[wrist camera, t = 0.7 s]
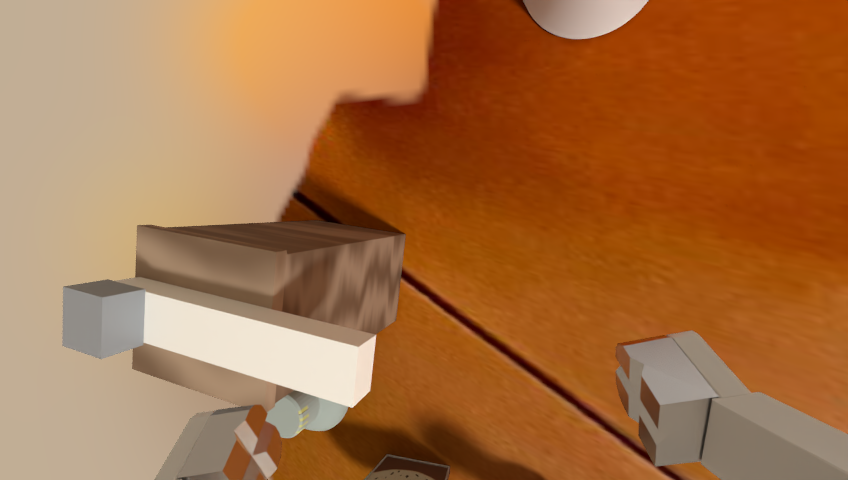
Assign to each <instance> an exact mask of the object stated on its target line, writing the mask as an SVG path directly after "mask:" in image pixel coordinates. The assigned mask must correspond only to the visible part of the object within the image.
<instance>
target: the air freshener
mask: <svg viewBox="0 0 848 480" xmlns="http://www.w3.org/2000/svg"><path fill="white" fill-rule="evenodd" d="M347 409H348V406H345V405H341V404H338V403H335V402H332V401H329V400H325V399H322V398H319V397H316V396H313V395H309V394H306V393H303V392H300V391H297V390H294V391H292V392H291V393H289V394H288V395H286V396H285V397H284V398H282V399H281V400H279V401H278V402H276V403H275V407H274V408H273V409H271V410H270V411H268V412H267V417H266V421H267V422H269V423H271V424H272V425H274V426H276V428H277V430H278V431H279V433H280V437H283V438H291V437H294V436H296V435H297V434H298V433H299V432H300V431H302V430H303V429H304V428H305V429H308V430H314V431H325V430H329V429H331V428H333V427H334V426H336V425H337V424H338V423H339V422H340V421H341V420H342V418H343V417H344V415H345V414H346V412H347Z"/></svg>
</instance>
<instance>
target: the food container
mask: <svg viewBox="0 0 848 480" xmlns="http://www.w3.org/2000/svg"><path fill="white" fill-rule="evenodd" d="M449 474H450V466H446V465H441V464H436V463H431V462H426V461H420V460H415V459H410V458H405V457H399V456H394V455H389V454H386V456H385V457H384V458H383V459H382V460H381V461H380V462H379V463H378V465H377V466H376V467H375V468H374V469H373V470H372V471H371V472H370V473H369V475H368V476H367V477H366V478H365V479H364V480H448V478H449Z"/></svg>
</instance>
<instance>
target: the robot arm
mask: <svg viewBox="0 0 848 480" xmlns="http://www.w3.org/2000/svg"><path fill="white" fill-rule="evenodd" d="M648 1H649V0H523V2H524V4H525V6H526V8H527V10H528V12H529V13H530V15H531V16H532V18H533V19H534V20H535V21H536V22H537V23H538V24H539V25H540V26H541V27H542V28H543V29H545V30H547V31H548V32H550V33H552V34H554V35H557V36H560V37H564V38H570V39H586V38H593V37H597V36H600V35H603V34H606V33H609V32H611V31H613V30H615V29H617V28H619V27H620V26H622V25H623V24H625V23H626V22H628V21H629V20H630V19H631V18H633V17H634V16H635V15H636V14H637V13H638V12H639V11H640V10H641V9H642V8H643V6H644V5H645V4H646V3H647V2H648ZM616 358H617V360H618V362H619V363H620V365H621V366H620V367H619V368H618V369H617V370H616V385H617V389H618V393H619V397H620V399H621V402H622V404H623V406H624V408H625V410H626V412H627V414H628V416H629V417H631V418H632V419H634V420H635V421H637V422H638V423H639V437H640V439H641V441H642V443H643V445H644V446H645V448H646V450H647V452H648V454H649V456H650V458H651V460H652V461H653V463H654V465H655V466H662V465H672V464H681V463H690V462H699V461H701V464H702V465H703V466H704V467H706V468H707V469H708V470H710V471H711V472H712V473H713V474H715V475H716V476H717V477H719V478H720V479H721V480H848V434H846V433H844V432H842V431H840V430H838V429H835V428H833V427H831V426H829V425H827V424H825V423H823V422H821V421H819V420H817V419H815V418H813V417H811V416H809V415H807V414H804V413H802V412H800V411H798V410H796V409H794V408H792V407H790V406H788V405H786V404H784V403H782V402H780V401H778V400H776V399H773V398H771V397H769V396H767V395H765V394H763V393H761V392H755V393H751V392H750V391H749V390H748V389H747V388H746V386H745V385H744V384H743V383H742V382H741V381H740V380H739V379H738V378H737V376H736V375H735V374H734V373H733V372H732V371H731V370H730V369H729V368H728V366H727V365H726V364H725V363H724V362H723V361H722V360H721V359H720V358H719V356H718V355H717V354H716V353H715V352H714V351H713V350H712V349H711V348H710V346H709V345H708V344H707V343H706V342H705V341H704V340H703V339H702V338H701V337H700V335H699V334H698V333H696V332H694V331H686V332H681V333H675V334H669V335H666V336H665V335H662V336H657V337H651V338H646V339H640V340H634V341H629V342H623V343H618V344H617V346H616ZM266 417H267V412H266V411H265V409H264V408H263V406H262V405H249V406H242V407H235V408H228V409H221V410H216V411H209V412H202V413H197V414H196V415H194V416H193V417H192V418H190V420H189V422H188V424H187V425H186V427H185V429H184V430H183V432H182V434H181V435H180V437H179V439H178V440H177V442H176V444H175V446H174V447H173V449H172V451H171V452H170V454H169V456H168V457H167V459H166V461H165V463H164V464H163V466H162V468H161V469H160V471H159V473H158V475H157V476H156V478H155V480H268V478H269V477H270V476H271V475H272V474H273V473H274V472H275V470H276V469H277V468H278V465H279V461H280V458H281V448H282V441H281V437H280V433H279V431H278V430H277V428H276V426H274V425H272V424H271V423H269V422H267V421H265V420H266Z"/></svg>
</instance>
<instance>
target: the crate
mask: <svg viewBox="0 0 848 480" xmlns="http://www.w3.org/2000/svg"><path fill="white" fill-rule="evenodd" d="M405 236H406V234H401V233H395V232H388V231H382V230H375V229H369V228H363V227H356V226H350V225H343V224H337V223H331V222H324V221H318V220H310V221H290V222H270V223H249V224H230V225H208V226H188V227H168V228H165V227H159V226H154V225H138V226H137V246H136V249H137V250H136V276H135V278H136V277H142V278H146V279H150V280H155V281H159V282H163V283H167V284H171V285H175V286H179V287H183V288H187V289H191V290H195V291H199V292H204V293H208V294H212V295H216V296H220V297H224V298H228V299H232V300H236V301H240V302H244V303H248V304H252V305H257V306H261V307H265V308H269V309H273V310H277V311H281V312H285V313H289V314H293V315H297V316H301V317H306V318H310V319H314V320H318V321H322V322H326V323H330V324H334V325H338V326H342V327H346V328H350V329H354V330H359V331H363V332H367V333H371V334H377V333H378V332H380V331H381V330H383V329H384V328H385V327H387V326H388V325H390V324H391V323H393V322H394V321H396V314H397V306H398V297H399V288H400V279H401V271H402V262H403V253H404V244H405ZM132 364H133V365H132V369H134V370H137V371H140V372H143V373H146V374H149V375H151V376H154V377H157V378H160V379H163V380H166V381H169V382H172V383H175V384H178V385H181V386H183V387H186V388H189V389H192V390H195V391H198V392H201V393H204V394H207V395H209V396H212V397H215V398H218V399H221V400H224V401H227V402H230V403H233V404H235V405H239V406H241V407H242V406H249V405H262V406H263V408H264V409H265V411H266V412H268V411H270V410H271V409H273V408H274V407H275V403H276V402H278V401H279V400H281V399H282V398H284V397H285V396H286V395H288V394H289V393H291V392H292V391H294V390H293V389H290V388H287V387H284V386H281V385H277V384H274V383H271V382H268V381H265V380H261V379H258V378H255V377H252V376H249V375H245V374H242V373H239V372H236V371H233V370H230V369H226V368H223V367H220V366H217V365H214V364H210V363H207V362H204V361H201V360H198V359H194V358H191V357H188V356H185V355H182V354H178V353H175V352H172V351H169V350H166V349H162V348H159V347H156V346H153V345H150V344H146V343H143V345H142V346H139V347H136V348H133V363H132Z"/></svg>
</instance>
